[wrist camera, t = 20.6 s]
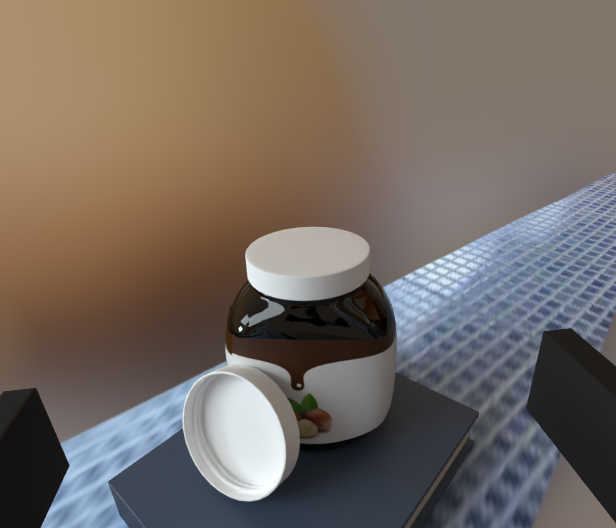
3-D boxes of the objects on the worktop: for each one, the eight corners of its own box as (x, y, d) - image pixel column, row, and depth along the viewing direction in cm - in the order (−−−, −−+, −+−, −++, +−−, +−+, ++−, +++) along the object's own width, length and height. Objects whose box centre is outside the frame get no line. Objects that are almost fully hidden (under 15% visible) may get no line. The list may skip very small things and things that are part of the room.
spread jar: (386, 372, 31) (393, 222, 26) (406, 522, 21) (424, 326, 16) (227, 369, 32) (204, 225, 27) (172, 511, 22) (120, 323, 17)
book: (290, 736, 17) (284, 702, 15) (120, 515, 25) (107, 481, 24) (473, 445, 28) (479, 411, 27) (315, 362, 37) (314, 334, 36)
